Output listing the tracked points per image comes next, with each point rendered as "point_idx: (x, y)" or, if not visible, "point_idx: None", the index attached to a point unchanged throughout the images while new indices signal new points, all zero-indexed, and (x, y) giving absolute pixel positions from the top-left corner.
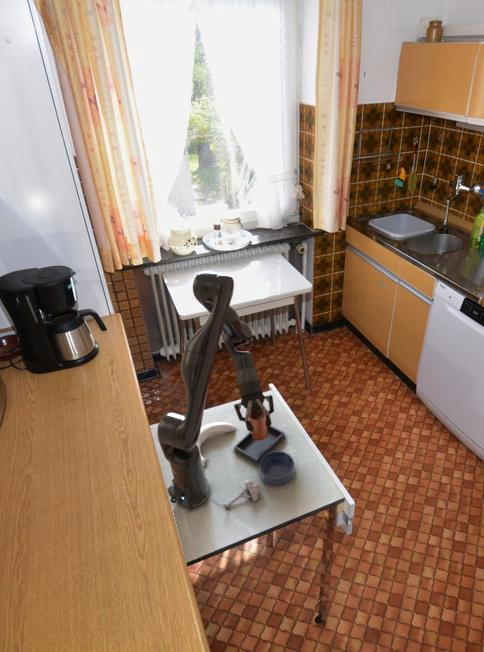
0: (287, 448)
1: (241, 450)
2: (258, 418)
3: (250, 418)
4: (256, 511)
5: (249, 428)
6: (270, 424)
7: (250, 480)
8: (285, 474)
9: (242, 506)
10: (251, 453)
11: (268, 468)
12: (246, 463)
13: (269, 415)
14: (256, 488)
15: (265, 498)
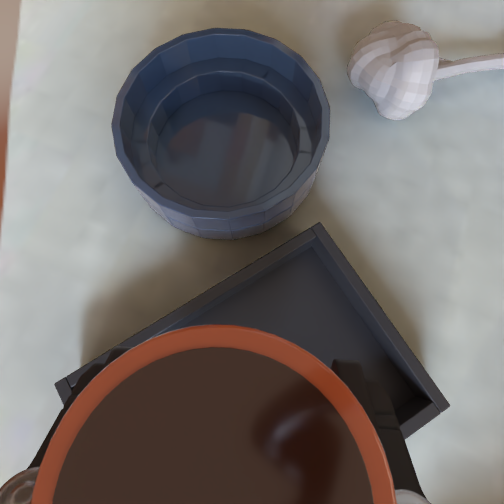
0: (105, 287)
1: (401, 345)
2: (229, 379)
3: (381, 456)
4: (383, 14)
5: (367, 389)
6: (102, 367)
7: (406, 61)
8: (193, 121)
9: (439, 52)
10: (327, 328)
11: (263, 186)
12: (371, 276)
13: (26, 474)
14: (376, 37)
15: (328, 52)
